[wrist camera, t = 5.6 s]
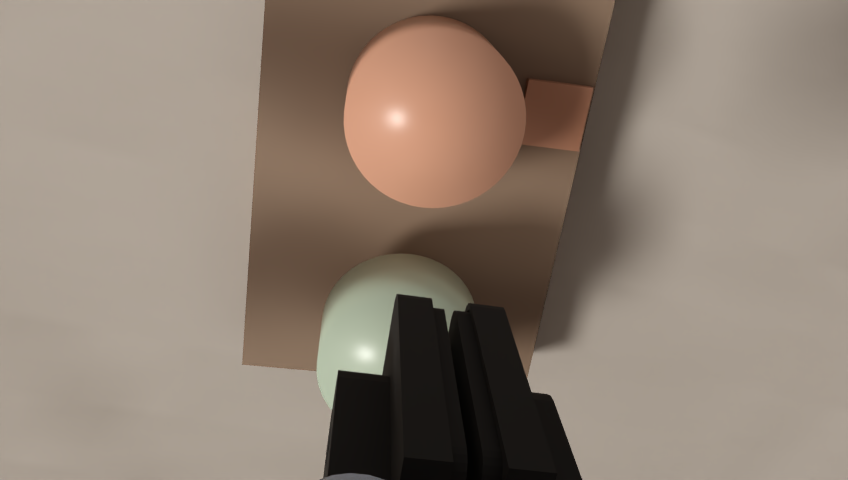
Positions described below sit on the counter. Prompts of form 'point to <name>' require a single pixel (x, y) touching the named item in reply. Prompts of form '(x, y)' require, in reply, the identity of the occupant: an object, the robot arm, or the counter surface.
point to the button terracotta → (433, 112)
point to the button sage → (377, 312)
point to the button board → (383, 216)
